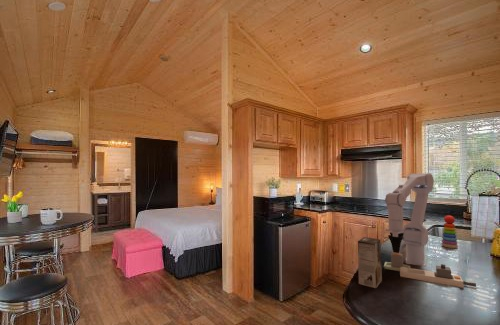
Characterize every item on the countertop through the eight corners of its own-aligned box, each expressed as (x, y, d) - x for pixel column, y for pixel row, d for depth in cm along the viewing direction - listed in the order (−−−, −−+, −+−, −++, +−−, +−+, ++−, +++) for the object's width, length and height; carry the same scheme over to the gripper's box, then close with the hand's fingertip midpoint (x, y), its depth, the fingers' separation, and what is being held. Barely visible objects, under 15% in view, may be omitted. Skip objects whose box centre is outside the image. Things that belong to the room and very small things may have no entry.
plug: (391, 265, 118) (391, 251, 118) (403, 267, 115) (402, 253, 116) (391, 268, 114) (390, 254, 114) (402, 270, 112) (402, 255, 112)
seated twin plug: (436, 278, 103) (435, 262, 103) (450, 280, 101) (449, 264, 101) (437, 281, 99) (436, 265, 100) (451, 284, 97) (450, 267, 97)
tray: (385, 264, 121) (385, 261, 121) (410, 268, 115) (410, 265, 115) (383, 269, 114) (383, 266, 114) (410, 273, 109) (410, 270, 109)
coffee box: (365, 277, 104) (364, 236, 106) (382, 281, 100) (381, 239, 102) (357, 284, 97) (357, 240, 99) (376, 288, 93) (375, 243, 94)
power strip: (400, 272, 110) (400, 265, 111) (474, 284, 98) (473, 276, 98) (400, 277, 105) (400, 269, 105) (478, 291, 92) (477, 282, 92)
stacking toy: (446, 248, 153) (444, 216, 154) (438, 244, 161) (437, 214, 162) (461, 248, 151) (459, 216, 153) (452, 245, 159) (451, 214, 161)
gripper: (386, 217, 125) (387, 246, 124) (384, 220, 112) (385, 252, 111) (403, 218, 121) (404, 248, 120) (403, 222, 109) (404, 255, 108)
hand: (396, 250), depth 115 cm, fingers open, 7 cm apart
